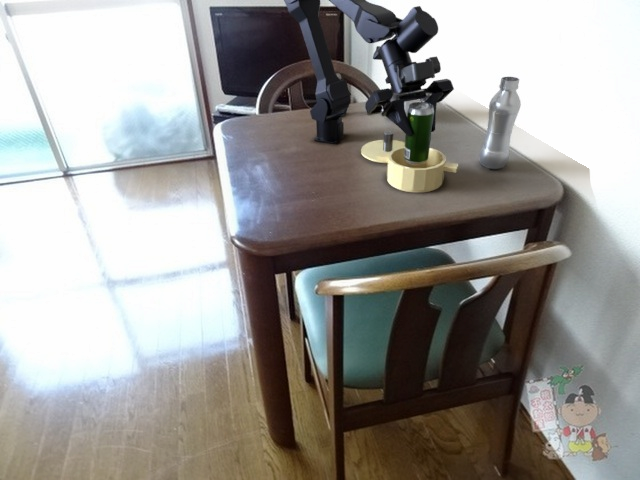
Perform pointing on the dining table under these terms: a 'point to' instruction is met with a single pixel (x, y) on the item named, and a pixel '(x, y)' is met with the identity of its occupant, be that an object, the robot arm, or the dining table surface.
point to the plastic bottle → (500, 124)
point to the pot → (416, 171)
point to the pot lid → (381, 147)
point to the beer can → (419, 132)
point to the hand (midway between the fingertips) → (422, 133)
